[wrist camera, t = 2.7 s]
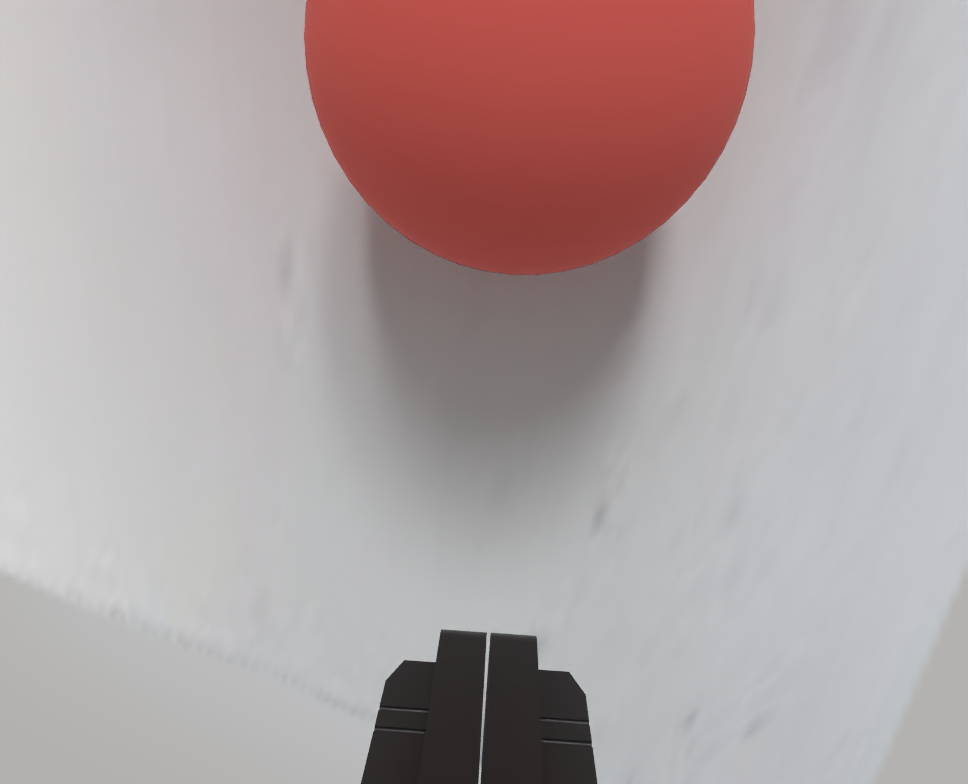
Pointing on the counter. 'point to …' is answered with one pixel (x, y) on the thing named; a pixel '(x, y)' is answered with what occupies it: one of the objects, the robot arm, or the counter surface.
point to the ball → (527, 117)
